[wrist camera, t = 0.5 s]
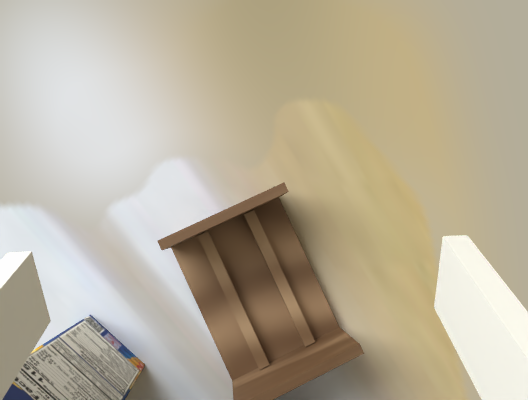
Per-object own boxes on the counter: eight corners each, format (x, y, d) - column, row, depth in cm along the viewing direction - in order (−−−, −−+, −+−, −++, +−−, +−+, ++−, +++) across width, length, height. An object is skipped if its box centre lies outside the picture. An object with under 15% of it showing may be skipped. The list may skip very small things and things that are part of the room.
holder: (340, 332, 47) (363, 353, 39) (235, 385, 46) (238, 417, 38) (274, 190, 48) (284, 182, 40) (168, 239, 46) (157, 240, 38)
